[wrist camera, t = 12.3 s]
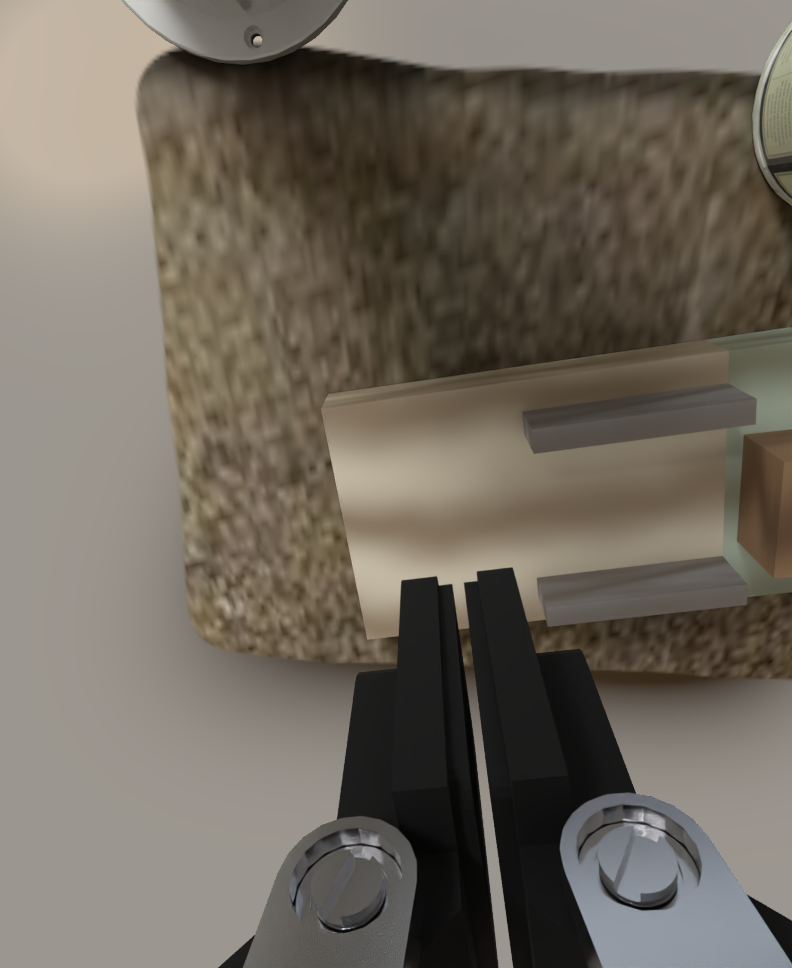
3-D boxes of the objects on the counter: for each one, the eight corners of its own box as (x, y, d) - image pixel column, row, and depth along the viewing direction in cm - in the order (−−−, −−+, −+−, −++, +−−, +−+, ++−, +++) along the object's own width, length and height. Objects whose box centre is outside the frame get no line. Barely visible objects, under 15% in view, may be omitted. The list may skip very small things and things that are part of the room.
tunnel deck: (328, 393, 36) (312, 426, 31) (1032, 292, 33) (1154, 308, 28) (370, 611, 42) (363, 672, 36) (984, 540, 39) (1079, 595, 33)
